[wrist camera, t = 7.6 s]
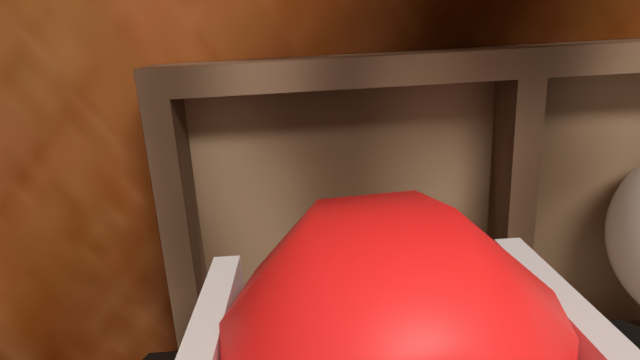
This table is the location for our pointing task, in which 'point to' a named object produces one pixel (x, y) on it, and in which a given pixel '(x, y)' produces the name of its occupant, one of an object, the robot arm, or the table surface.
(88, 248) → the table surface
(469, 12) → the table surface
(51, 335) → the table surface
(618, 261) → the ceramic ball
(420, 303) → the apple
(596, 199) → the walnut well tray
